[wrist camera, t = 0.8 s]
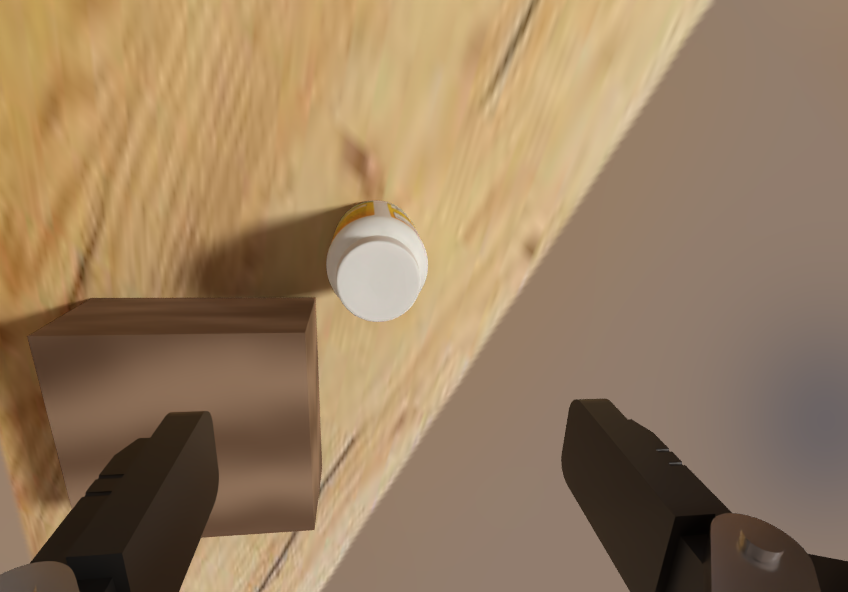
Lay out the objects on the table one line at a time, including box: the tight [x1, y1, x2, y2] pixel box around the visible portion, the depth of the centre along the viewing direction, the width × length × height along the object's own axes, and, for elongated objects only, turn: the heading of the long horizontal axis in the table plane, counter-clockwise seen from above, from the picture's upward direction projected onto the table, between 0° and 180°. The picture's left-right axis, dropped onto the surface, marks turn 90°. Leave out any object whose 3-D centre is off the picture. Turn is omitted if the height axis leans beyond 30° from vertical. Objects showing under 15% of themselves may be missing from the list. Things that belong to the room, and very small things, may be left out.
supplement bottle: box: [326, 200, 428, 322], centre depth 26 cm, size 5×5×10 cm
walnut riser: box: [27, 298, 322, 538], centre depth 30 cm, size 14×14×6 cm
